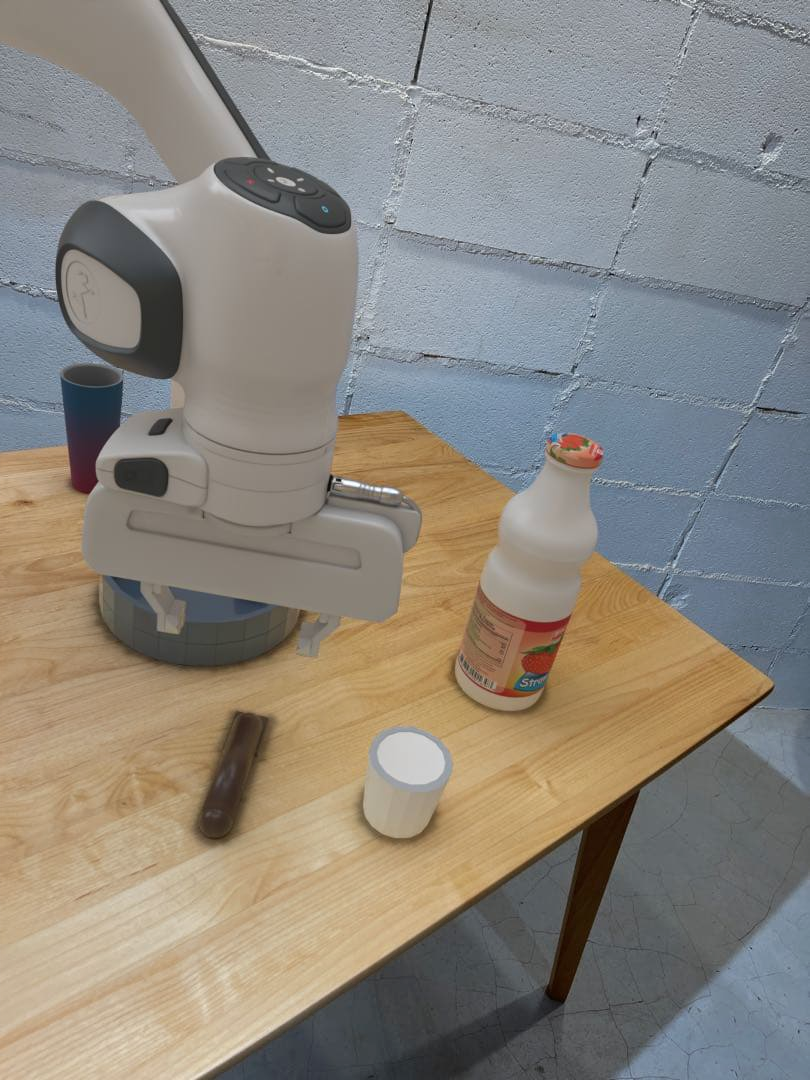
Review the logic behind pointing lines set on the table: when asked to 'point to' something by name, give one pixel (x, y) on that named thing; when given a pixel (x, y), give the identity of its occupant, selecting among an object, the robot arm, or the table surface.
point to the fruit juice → (531, 580)
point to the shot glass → (404, 780)
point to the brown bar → (232, 773)
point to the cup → (89, 416)
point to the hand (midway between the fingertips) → (239, 639)
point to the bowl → (194, 624)
